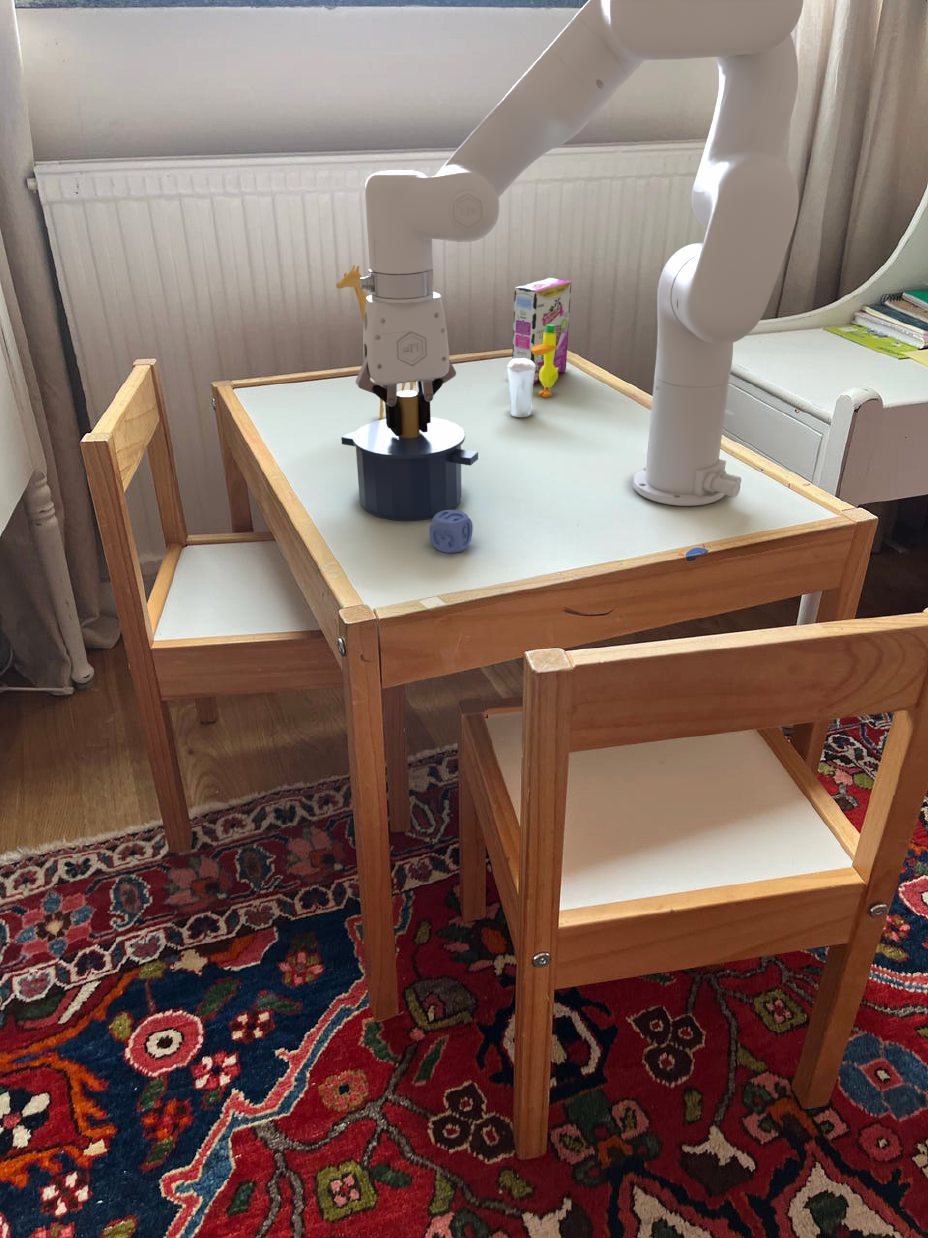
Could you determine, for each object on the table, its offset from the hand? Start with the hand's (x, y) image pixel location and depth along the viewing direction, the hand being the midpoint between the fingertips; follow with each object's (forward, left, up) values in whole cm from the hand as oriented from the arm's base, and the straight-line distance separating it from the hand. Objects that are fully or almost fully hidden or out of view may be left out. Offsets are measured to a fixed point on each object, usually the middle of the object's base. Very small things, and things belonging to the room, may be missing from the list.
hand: (408, 429), depth 125 cm
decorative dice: (-14, +6, -10) cm, 18 cm away
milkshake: (+12, -36, -10) cm, 39 cm away
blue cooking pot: (0, 0, -10) cm, 10 cm away
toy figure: (+16, -46, -10) cm, 50 cm away
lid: (0, 0, -1) cm, 1 cm away
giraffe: (+26, -18, -10) cm, 33 cm away
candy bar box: (+24, -54, -10) cm, 60 cm away
